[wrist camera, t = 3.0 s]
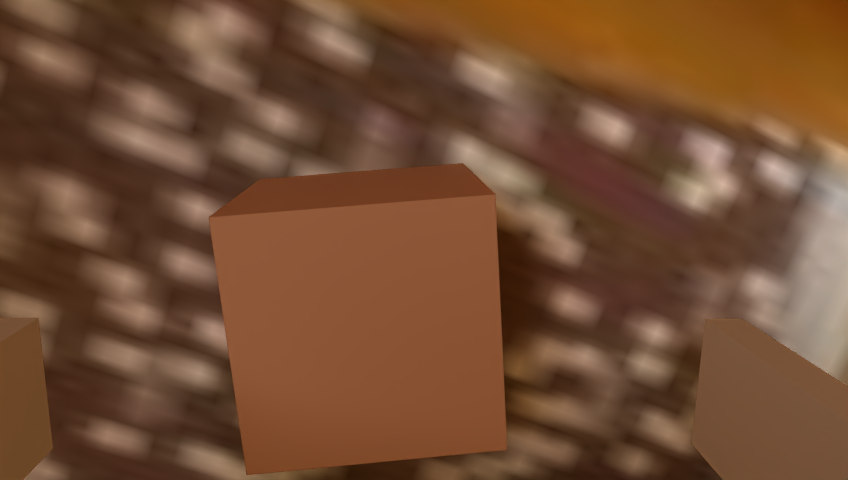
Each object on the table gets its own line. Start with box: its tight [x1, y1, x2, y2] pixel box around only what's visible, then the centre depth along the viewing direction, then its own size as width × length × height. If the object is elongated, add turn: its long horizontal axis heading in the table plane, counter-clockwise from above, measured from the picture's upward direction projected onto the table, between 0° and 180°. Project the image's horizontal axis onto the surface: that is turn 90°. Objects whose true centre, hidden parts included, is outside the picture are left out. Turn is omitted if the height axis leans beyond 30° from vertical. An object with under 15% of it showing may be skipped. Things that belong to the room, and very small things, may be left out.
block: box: [209, 163, 507, 475], centre depth 18 cm, size 6×6×6 cm
